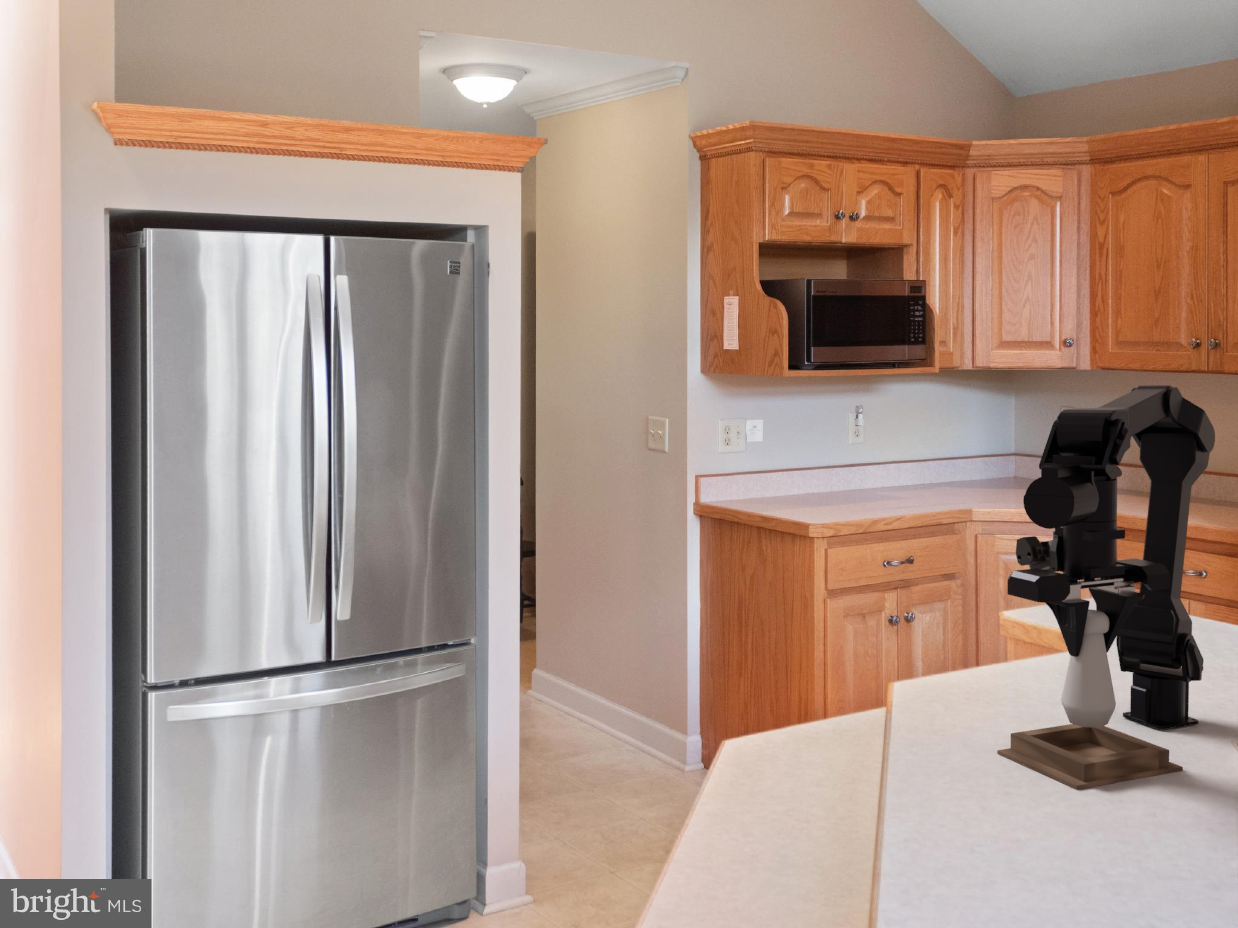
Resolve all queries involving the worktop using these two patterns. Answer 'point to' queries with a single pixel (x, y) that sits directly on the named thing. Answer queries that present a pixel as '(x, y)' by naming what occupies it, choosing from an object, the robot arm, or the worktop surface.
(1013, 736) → the brown flat rectangular frame
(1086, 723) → the salt shaker
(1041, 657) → the worktop surface
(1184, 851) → the worktop surface
